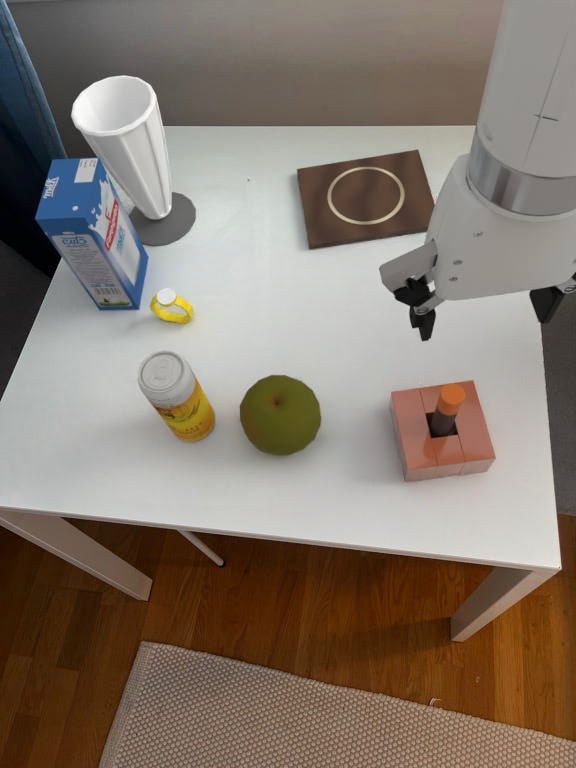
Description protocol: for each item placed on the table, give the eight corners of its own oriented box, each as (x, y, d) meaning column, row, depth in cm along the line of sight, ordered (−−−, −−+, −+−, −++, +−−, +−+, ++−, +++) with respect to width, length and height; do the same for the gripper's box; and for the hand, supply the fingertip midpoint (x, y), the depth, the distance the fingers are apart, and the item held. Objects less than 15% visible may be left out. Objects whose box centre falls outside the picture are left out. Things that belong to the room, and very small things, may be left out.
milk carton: (110, 258, 92) (52, 159, 74) (148, 256, 91) (99, 156, 73) (99, 311, 88) (34, 219, 70) (139, 310, 87) (83, 217, 69)
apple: (338, 430, 75) (335, 394, 65) (284, 482, 73) (274, 453, 63) (284, 383, 79) (275, 342, 69) (232, 431, 77) (215, 396, 67)
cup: (168, 256, 91) (118, 145, 72) (113, 230, 94) (51, 118, 75) (210, 206, 95) (173, 88, 75) (155, 183, 98) (107, 65, 79)
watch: (154, 324, 86) (141, 301, 80) (160, 308, 87) (148, 285, 81) (193, 329, 84) (182, 306, 79) (198, 313, 86) (188, 290, 80)
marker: (443, 430, 74) (461, 381, 61) (447, 448, 73) (467, 402, 60) (423, 432, 74) (438, 384, 61) (428, 451, 73) (443, 405, 60)
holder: (466, 396, 75) (473, 379, 71) (487, 471, 71) (496, 458, 66) (388, 408, 76) (390, 391, 71) (404, 482, 71) (407, 470, 67)
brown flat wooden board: (417, 155, 95) (418, 148, 94) (439, 229, 88) (441, 223, 87) (297, 174, 96) (296, 167, 95) (309, 249, 89) (308, 243, 87)
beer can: (167, 441, 77) (128, 393, 64) (178, 399, 80) (142, 345, 66) (211, 446, 76) (180, 398, 63) (220, 404, 79) (193, 349, 65)
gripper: (666, 86, 34) (569, 266, 50) (375, 133, 35) (368, 296, 50) (723, 178, 31) (600, 341, 46) (400, 228, 32) (384, 372, 47)
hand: (479, 317), depth 48 cm, fingers open, 9 cm apart
